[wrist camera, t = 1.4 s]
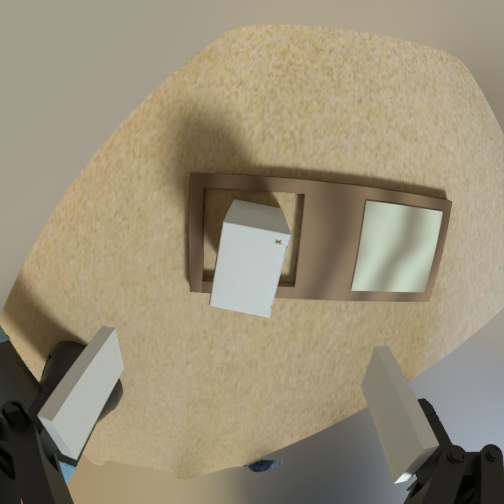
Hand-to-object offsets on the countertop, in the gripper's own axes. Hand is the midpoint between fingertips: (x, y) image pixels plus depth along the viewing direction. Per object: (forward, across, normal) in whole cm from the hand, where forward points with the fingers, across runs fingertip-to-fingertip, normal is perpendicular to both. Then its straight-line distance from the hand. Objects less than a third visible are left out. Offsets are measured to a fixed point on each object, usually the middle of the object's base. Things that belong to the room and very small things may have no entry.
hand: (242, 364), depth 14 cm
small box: (+22, 0, 0) cm, 22 cm away
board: (+22, +9, 0) cm, 23 cm away
